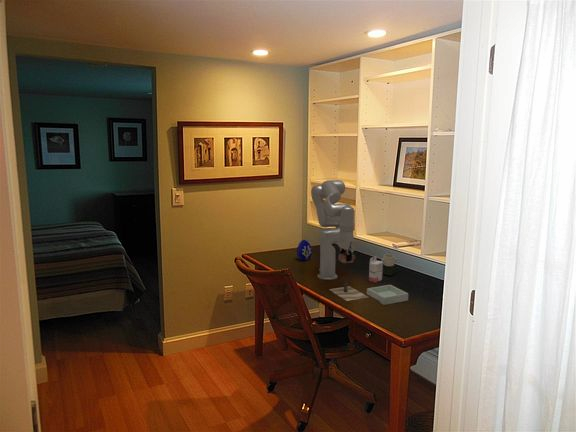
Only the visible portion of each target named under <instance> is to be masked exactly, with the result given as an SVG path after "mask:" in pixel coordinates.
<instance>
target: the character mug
mask: <svg viewBox="0 0 576 432" xmlns="http://www.w3.org/2000/svg"><path fill="white" fill-rule="evenodd" d="M382 257H383V258H381V259H380V261H382V262H383V266H384V267H383V272H382V275H385V276H393V275H394V267H393V266H395V263H397V257H396V256H395V254H392V253H391V254H390V253H385V254H383V256H382Z"/></svg>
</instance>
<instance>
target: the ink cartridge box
mask: <svg viewBox="0 0 576 432" xmlns="http://www.w3.org/2000/svg"><path fill="white" fill-rule="evenodd" d="M377 258H378V256H377V255H376V256H373V257H370V259H369V269H368V270H369V271H368V281H369V282H371V283H375V284H376V283H378V282H380V281H382V280H383V270H384V267H383V266H384V264H383V262H382V261H381V260H377Z"/></svg>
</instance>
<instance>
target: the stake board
mask: <svg viewBox="0 0 576 432" xmlns="http://www.w3.org/2000/svg"><path fill="white" fill-rule="evenodd" d="M329 291H330V292H332V293H333V294H335V295H336V296H338V297H340V298H341V299H343V300H345V301H347V302H349V301H353V300H354V301H355V300H360V299H366V298H369V295H366V294H364V293H362V292H360V291H359V290H358V289H355V288H354V287H352V286H350V285H349V286H348V282H347V281H343V286H342V287H336V288H335V287H334V288H330V289H329Z"/></svg>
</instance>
